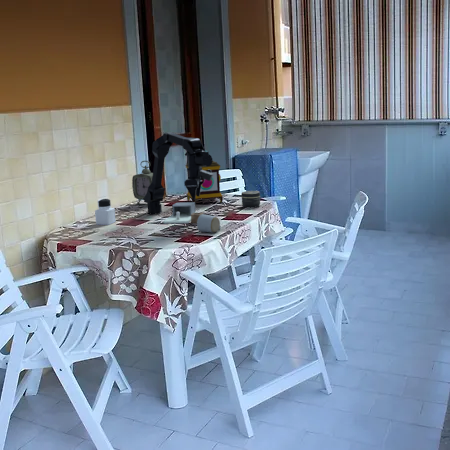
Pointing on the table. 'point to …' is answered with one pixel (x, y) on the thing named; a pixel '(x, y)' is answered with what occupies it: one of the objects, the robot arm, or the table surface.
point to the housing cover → (184, 207)
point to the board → (179, 218)
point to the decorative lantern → (209, 184)
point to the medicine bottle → (105, 213)
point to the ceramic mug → (208, 223)
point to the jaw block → (195, 217)
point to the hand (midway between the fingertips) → (196, 198)
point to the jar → (250, 198)
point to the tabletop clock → (141, 183)
